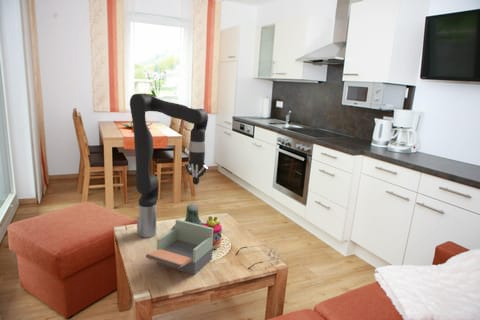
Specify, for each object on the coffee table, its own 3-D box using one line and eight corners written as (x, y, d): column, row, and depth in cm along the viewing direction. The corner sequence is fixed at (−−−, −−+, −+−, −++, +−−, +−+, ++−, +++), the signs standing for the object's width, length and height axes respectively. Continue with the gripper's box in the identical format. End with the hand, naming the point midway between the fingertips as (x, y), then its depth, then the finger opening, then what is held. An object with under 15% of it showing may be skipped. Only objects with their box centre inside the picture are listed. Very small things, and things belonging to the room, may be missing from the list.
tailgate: (160, 248, 155) (146, 254, 146) (192, 258, 149) (179, 264, 139) (159, 251, 155) (145, 257, 146) (192, 261, 149) (179, 268, 139)
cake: (223, 249, 175) (225, 221, 171) (204, 251, 171) (205, 223, 167) (217, 240, 184) (218, 214, 181) (198, 242, 180) (199, 215, 177)
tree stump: (201, 221, 208) (206, 197, 200) (208, 243, 191) (212, 217, 184) (171, 222, 202) (174, 196, 195) (175, 244, 185) (178, 217, 178)
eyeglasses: (282, 263, 165) (283, 254, 164) (249, 270, 157) (249, 261, 155) (265, 248, 179) (266, 239, 178) (233, 254, 170) (234, 245, 169)
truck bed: (176, 248, 171) (177, 219, 168) (211, 259, 164) (213, 228, 160) (157, 263, 157) (157, 231, 154) (194, 275, 149) (195, 241, 146)
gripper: (181, 149, 165) (180, 183, 169) (205, 153, 160) (203, 188, 164) (189, 147, 172) (188, 180, 175) (212, 150, 167) (211, 184, 170)
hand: (195, 184), depth 170 cm, fingers closed
